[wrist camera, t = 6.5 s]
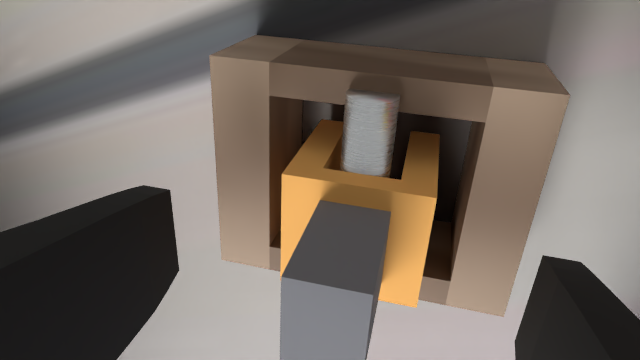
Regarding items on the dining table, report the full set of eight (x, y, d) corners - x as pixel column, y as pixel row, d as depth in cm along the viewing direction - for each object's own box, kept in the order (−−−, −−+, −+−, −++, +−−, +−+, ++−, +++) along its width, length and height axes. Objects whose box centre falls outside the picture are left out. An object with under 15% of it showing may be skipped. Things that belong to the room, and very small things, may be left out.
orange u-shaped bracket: (423, 225, 14) (408, 408, 9) (317, 207, 15) (237, 367, 9) (439, 134, 13) (433, 281, 7) (322, 118, 14) (231, 243, 8)
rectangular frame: (495, 251, 15) (506, 339, 12) (258, 210, 16) (209, 276, 13) (545, 63, 12) (579, 107, 9) (255, 34, 14) (193, 62, 10)
